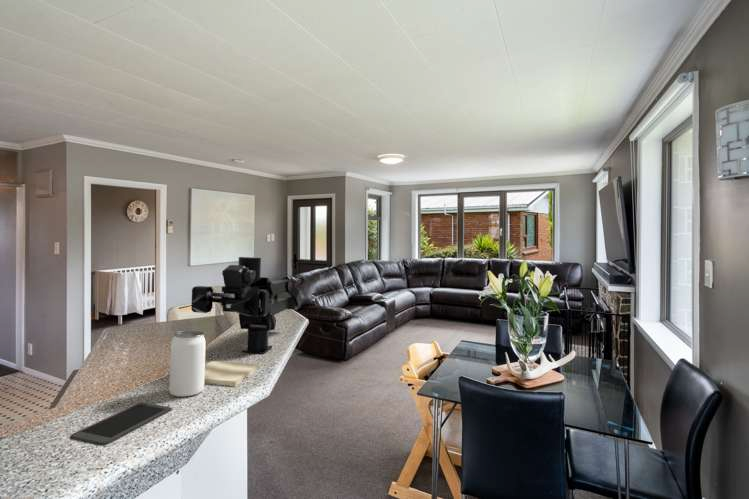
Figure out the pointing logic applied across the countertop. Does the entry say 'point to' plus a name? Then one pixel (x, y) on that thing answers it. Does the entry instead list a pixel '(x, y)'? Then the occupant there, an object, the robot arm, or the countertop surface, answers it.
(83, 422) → the countertop surface
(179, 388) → the can
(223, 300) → the robot arm
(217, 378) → the coaster
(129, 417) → the cell phone
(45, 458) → the countertop surface
